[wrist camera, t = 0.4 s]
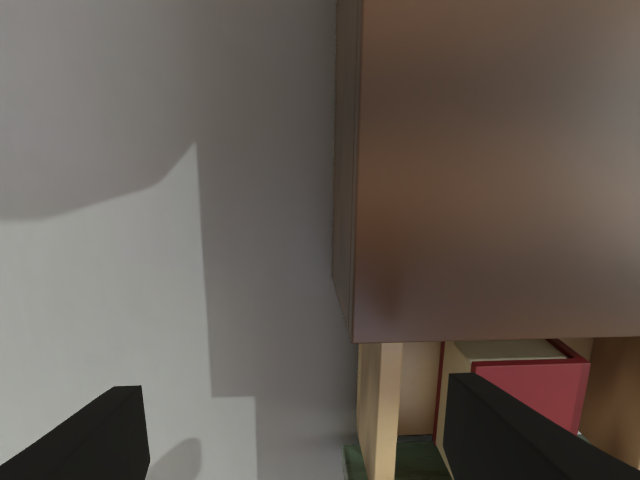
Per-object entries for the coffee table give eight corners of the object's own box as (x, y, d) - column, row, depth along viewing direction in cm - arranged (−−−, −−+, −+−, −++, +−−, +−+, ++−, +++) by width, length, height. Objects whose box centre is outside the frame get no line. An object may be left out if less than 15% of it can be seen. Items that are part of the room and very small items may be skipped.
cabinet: (613, 273, 20) (754, 334, 14) (331, 277, 19) (351, 345, 13) (678, -64, 17) (907, -180, 11) (337, -81, 16) (369, -219, 10)
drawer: (568, 513, 23) (637, 607, 18) (339, 526, 22) (353, 628, 17) (630, 201, 19) (740, 223, 14) (348, 201, 18) (369, 225, 13)
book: (520, 436, 20) (565, 495, 17) (431, 440, 20) (460, 501, 16) (538, 322, 19) (591, 363, 15) (442, 324, 18) (475, 366, 15)
